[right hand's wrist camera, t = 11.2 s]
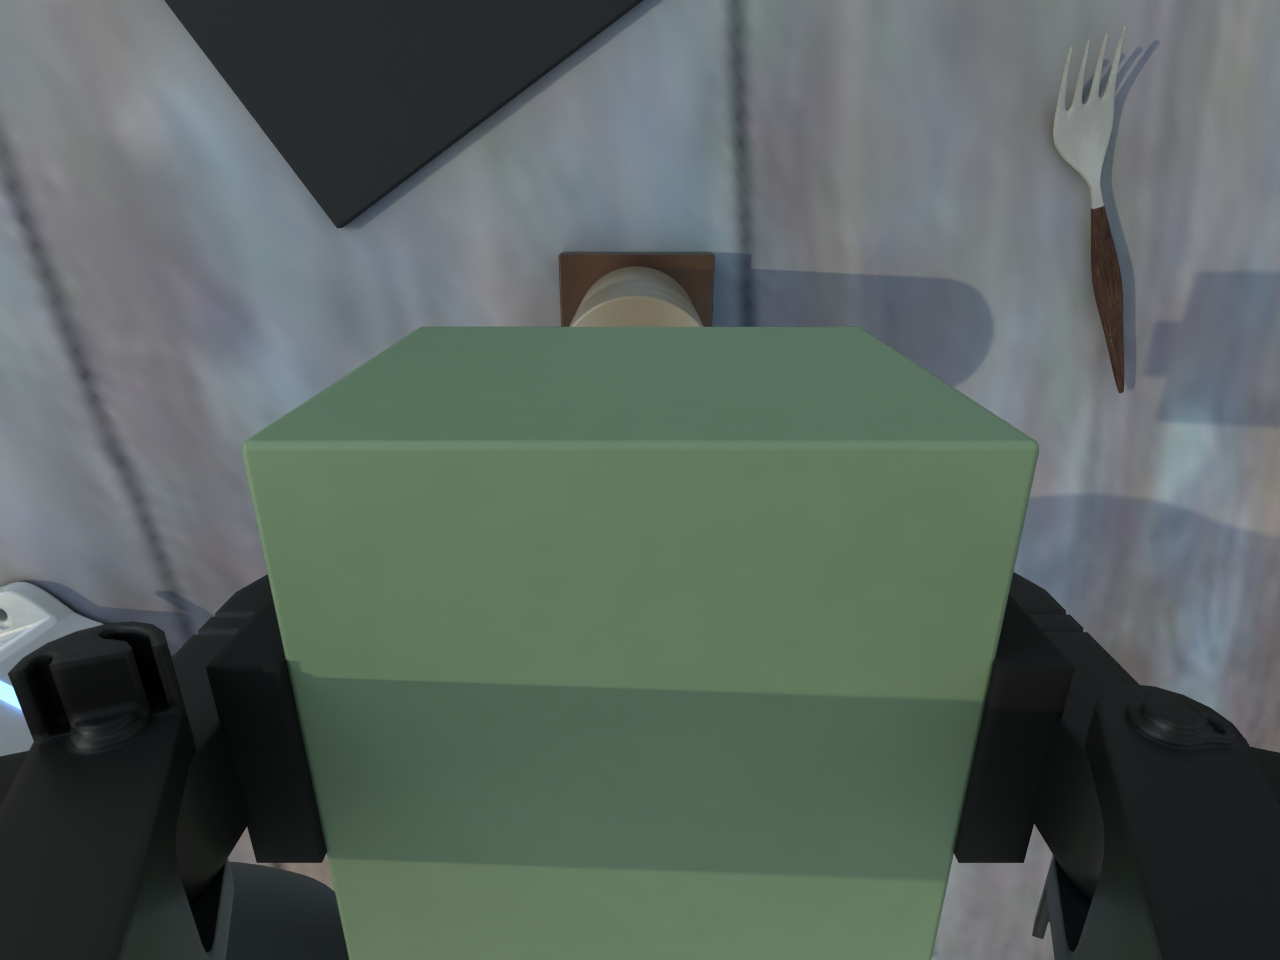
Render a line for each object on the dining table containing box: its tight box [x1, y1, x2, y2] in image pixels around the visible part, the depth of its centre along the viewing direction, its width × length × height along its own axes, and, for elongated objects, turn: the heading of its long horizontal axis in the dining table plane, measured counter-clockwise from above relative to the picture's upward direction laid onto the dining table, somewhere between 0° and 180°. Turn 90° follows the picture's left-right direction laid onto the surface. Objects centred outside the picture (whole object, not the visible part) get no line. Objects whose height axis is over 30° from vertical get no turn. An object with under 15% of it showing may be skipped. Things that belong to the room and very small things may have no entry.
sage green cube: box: [242, 327, 1039, 960], centre depth 11 cm, size 7×7×6 cm
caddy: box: [559, 252, 714, 327], centre depth 34 cm, size 7×25×12 cm, turn 0°
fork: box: [1053, 26, 1127, 393], centre depth 33 cm, size 3×16×2 cm, turn 20°
